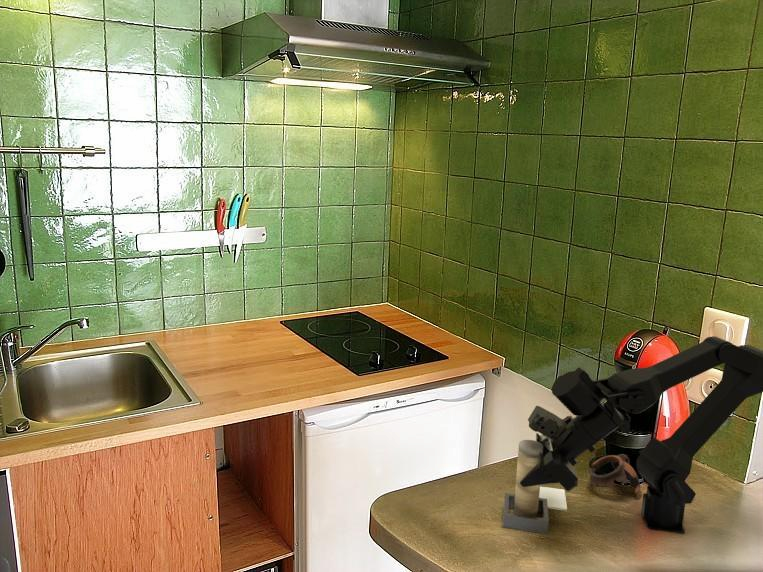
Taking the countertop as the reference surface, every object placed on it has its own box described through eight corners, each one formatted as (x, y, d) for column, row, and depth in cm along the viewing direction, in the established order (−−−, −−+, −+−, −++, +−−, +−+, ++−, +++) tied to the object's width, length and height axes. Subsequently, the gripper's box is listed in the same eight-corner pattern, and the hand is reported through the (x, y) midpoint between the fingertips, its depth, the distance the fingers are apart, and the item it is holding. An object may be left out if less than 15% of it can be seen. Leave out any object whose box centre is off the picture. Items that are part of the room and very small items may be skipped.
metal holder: (545, 510, 121) (547, 498, 121) (547, 534, 113) (548, 521, 113) (503, 504, 123) (504, 493, 122) (502, 527, 115) (503, 514, 114)
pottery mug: (641, 510, 123) (624, 476, 122) (596, 514, 129) (579, 482, 128) (649, 471, 133) (633, 439, 132) (607, 477, 138) (591, 446, 137)
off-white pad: (564, 491, 128) (564, 489, 128) (567, 511, 121) (567, 509, 121) (524, 486, 130) (524, 484, 130) (524, 505, 123) (524, 503, 123)
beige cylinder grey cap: (537, 509, 119) (543, 441, 117) (537, 522, 115) (543, 451, 113) (513, 506, 120) (518, 438, 118) (513, 518, 116) (518, 448, 113)
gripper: (552, 379, 122) (491, 426, 125) (563, 416, 104) (492, 470, 107) (590, 420, 122) (528, 467, 126) (608, 465, 104) (535, 517, 108)
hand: (520, 478), depth 117 cm, fingers closed on beige cylinder grey cap, 4 cm apart
